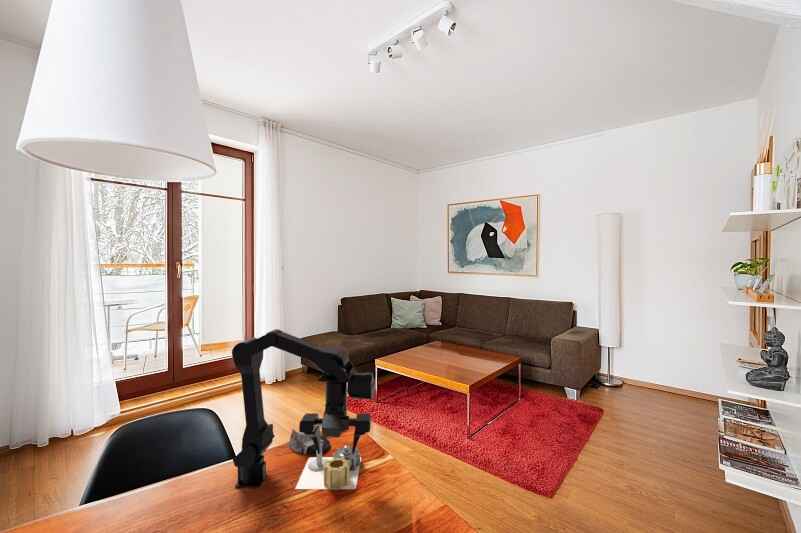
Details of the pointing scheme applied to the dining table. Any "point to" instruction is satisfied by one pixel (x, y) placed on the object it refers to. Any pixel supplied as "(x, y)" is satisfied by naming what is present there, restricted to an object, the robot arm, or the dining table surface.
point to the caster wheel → (306, 443)
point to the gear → (348, 456)
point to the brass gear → (336, 473)
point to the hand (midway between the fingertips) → (336, 453)
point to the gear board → (321, 474)
